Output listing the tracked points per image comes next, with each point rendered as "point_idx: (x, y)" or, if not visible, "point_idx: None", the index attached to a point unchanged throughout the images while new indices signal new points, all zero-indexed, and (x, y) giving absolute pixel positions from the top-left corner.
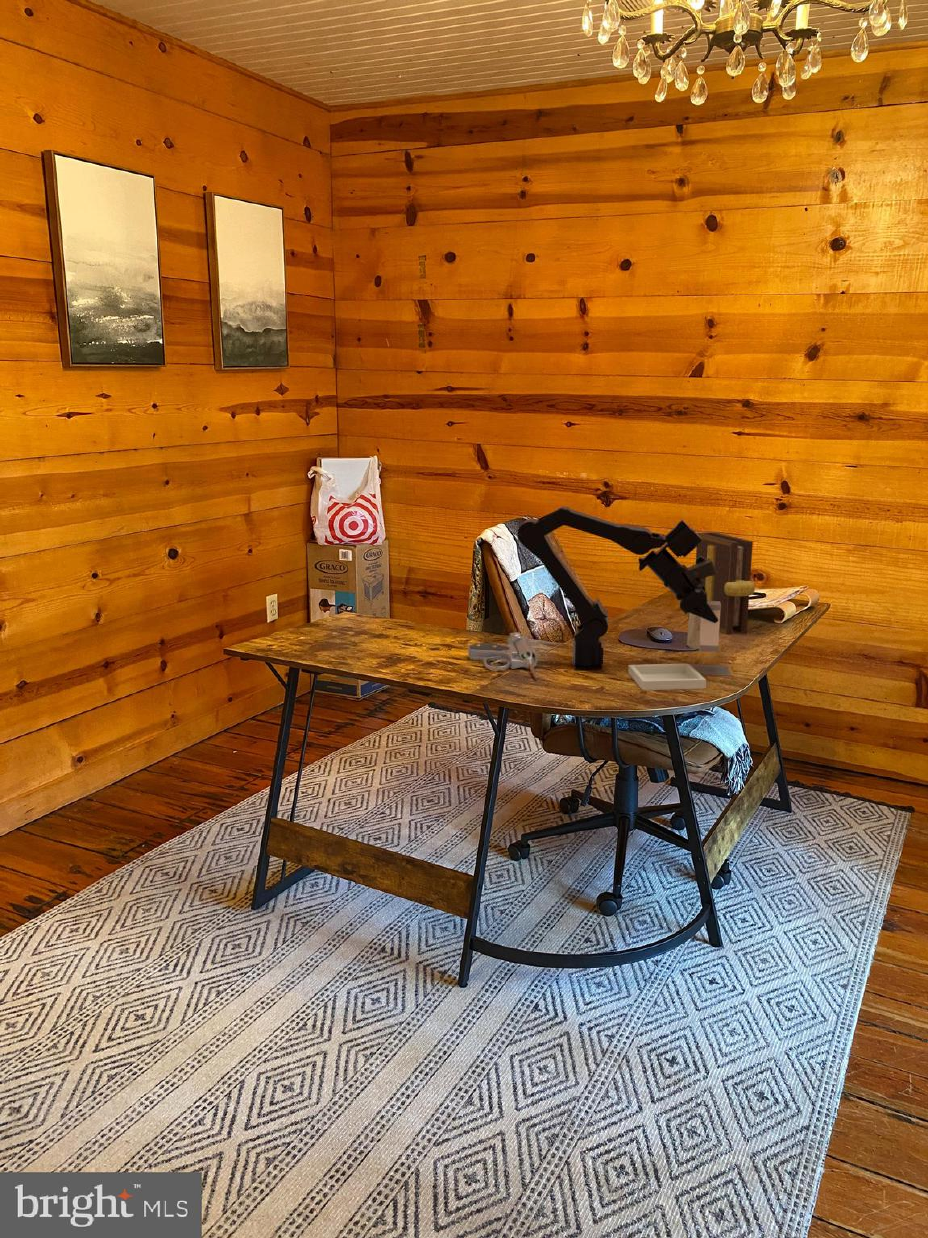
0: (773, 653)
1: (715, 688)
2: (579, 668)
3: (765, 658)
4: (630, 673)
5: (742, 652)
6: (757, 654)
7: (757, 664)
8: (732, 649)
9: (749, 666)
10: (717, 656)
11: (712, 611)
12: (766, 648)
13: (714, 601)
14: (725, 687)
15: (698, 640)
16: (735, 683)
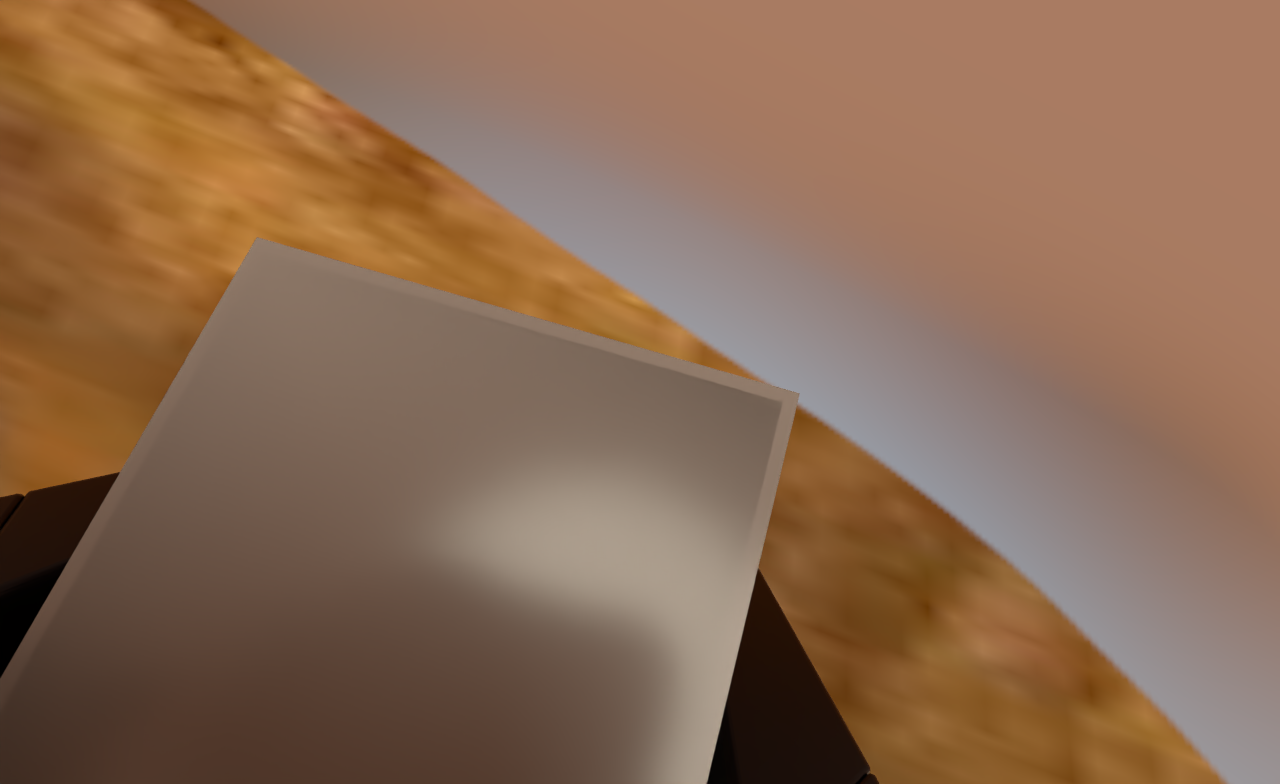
0: (225, 32)
1: (1044, 759)
2: None
3: (321, 115)
4: None
5: (128, 190)
6: (213, 123)
7: (447, 213)
8: (24, 223)
9: (484, 279)
10: (162, 397)
11: (837, 709)
12: (97, 23)
13: (212, 393)
14: (1011, 661)
15: None
16: (901, 540)
